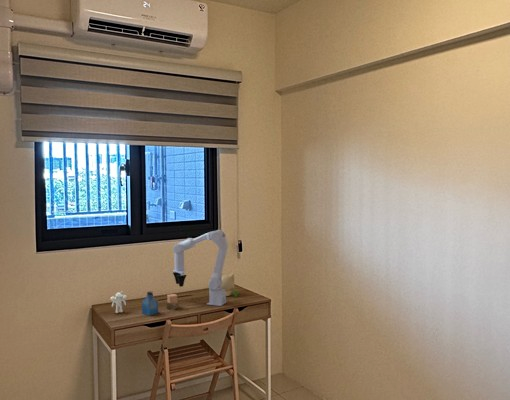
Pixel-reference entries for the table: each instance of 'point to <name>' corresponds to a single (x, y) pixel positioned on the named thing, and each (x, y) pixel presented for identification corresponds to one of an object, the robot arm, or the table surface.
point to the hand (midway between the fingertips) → (179, 285)
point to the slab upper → (172, 304)
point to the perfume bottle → (149, 305)
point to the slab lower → (173, 307)
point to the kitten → (228, 284)
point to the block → (172, 298)
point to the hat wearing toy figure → (118, 301)
